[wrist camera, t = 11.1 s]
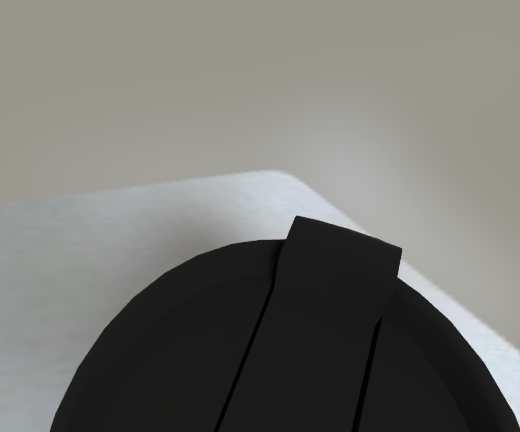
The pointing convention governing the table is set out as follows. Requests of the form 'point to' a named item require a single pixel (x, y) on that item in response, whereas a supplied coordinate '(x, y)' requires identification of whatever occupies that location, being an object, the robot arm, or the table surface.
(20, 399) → the table surface
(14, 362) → the table surface
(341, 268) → the travel mug
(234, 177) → the table surface
